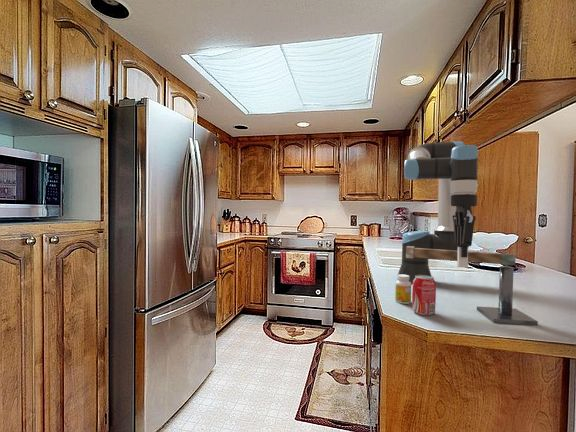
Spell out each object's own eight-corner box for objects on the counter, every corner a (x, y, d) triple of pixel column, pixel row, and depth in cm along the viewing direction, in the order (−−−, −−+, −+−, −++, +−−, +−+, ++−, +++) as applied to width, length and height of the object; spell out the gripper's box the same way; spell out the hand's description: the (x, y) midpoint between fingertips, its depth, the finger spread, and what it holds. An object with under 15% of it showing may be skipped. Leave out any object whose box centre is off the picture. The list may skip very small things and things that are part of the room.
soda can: (415, 308, 110) (416, 273, 110) (437, 312, 106) (438, 276, 105) (408, 313, 105) (409, 276, 104) (431, 318, 100) (432, 280, 100)
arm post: (476, 309, 109) (478, 263, 108) (515, 312, 107) (517, 264, 106) (493, 322, 97) (495, 270, 96) (537, 325, 95) (539, 271, 94)
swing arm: (514, 264, 102) (514, 252, 102) (516, 267, 98) (516, 254, 98) (407, 256, 117) (407, 245, 117) (405, 257, 114) (405, 247, 114)
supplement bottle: (392, 300, 119) (392, 274, 118) (403, 299, 121) (404, 273, 120) (402, 304, 114) (402, 277, 113) (414, 303, 116) (414, 276, 115)
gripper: (485, 193, 96) (483, 271, 97) (468, 195, 109) (467, 264, 110) (458, 193, 98) (457, 270, 98) (444, 195, 110) (443, 263, 111)
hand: (462, 266), depth 104 cm, fingers closed
